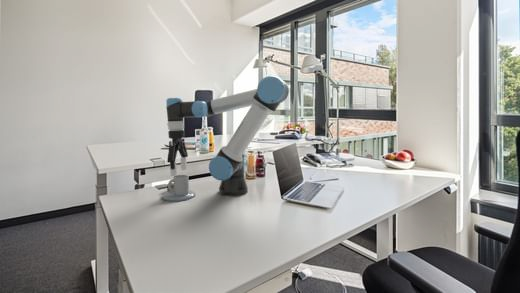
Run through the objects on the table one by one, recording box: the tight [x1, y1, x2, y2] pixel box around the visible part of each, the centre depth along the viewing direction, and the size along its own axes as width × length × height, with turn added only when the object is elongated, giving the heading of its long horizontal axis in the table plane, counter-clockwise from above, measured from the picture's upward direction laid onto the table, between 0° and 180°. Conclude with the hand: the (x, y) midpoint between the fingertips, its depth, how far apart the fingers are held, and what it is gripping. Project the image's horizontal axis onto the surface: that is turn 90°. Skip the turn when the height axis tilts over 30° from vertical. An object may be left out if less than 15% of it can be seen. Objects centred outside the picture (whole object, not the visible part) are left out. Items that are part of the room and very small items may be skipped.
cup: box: [167, 174, 190, 196], centre depth 141 cm, size 7×10×9 cm
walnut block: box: [166, 182, 174, 192], centre depth 151 cm, size 4×4×4 cm
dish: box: [161, 189, 196, 202], centre depth 143 cm, size 16×16×1 cm
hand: (179, 172), depth 141 cm, fingers open, 13 cm apart
